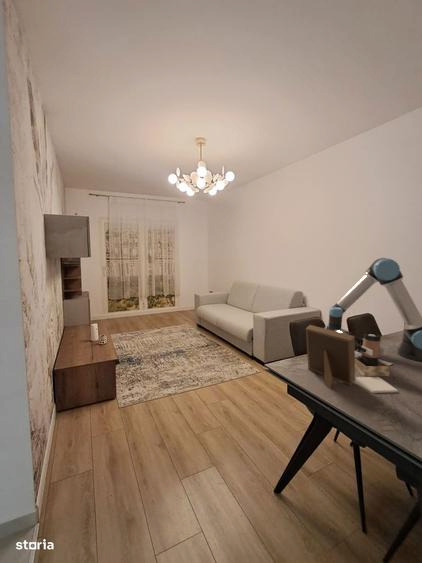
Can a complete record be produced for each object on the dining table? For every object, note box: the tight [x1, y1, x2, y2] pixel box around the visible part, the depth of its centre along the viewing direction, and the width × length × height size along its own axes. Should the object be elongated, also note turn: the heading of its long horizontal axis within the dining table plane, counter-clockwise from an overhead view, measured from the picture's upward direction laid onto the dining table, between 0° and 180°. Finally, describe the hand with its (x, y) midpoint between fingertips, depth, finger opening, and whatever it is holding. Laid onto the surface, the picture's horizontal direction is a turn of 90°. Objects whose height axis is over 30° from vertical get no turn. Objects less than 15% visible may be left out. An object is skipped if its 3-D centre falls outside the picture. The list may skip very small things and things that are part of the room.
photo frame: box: [305, 324, 356, 389], centre depth 126 cm, size 15×22×25 cm
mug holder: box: [355, 355, 391, 377], centre depth 137 cm, size 13×13×5 cm
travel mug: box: [361, 331, 381, 366], centre depth 136 cm, size 8×8×20 cm
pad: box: [355, 376, 398, 394], centre depth 122 cm, size 12×12×1 cm
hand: (378, 352), depth 131 cm, fingers closed on travel mug, 7 cm apart
